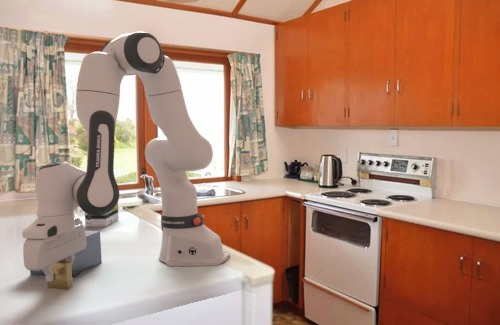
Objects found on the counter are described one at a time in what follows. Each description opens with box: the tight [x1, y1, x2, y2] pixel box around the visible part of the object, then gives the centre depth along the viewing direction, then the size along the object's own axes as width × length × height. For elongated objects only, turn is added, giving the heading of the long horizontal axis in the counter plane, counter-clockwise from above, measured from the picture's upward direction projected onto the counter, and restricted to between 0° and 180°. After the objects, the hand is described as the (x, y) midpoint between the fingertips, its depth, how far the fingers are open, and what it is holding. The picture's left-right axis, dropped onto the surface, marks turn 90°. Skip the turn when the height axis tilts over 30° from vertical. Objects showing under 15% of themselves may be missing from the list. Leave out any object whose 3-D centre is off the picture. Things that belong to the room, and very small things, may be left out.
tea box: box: [84, 202, 119, 228], centre depth 187 cm, size 15×10×15 cm
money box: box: [29, 230, 102, 279], centre depth 125 cm, size 14×14×10 cm
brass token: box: [46, 261, 74, 291], centre depth 109 cm, size 6×2×7 cm, turn 78°
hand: (59, 276), depth 109 cm, fingers open, 5 cm apart
